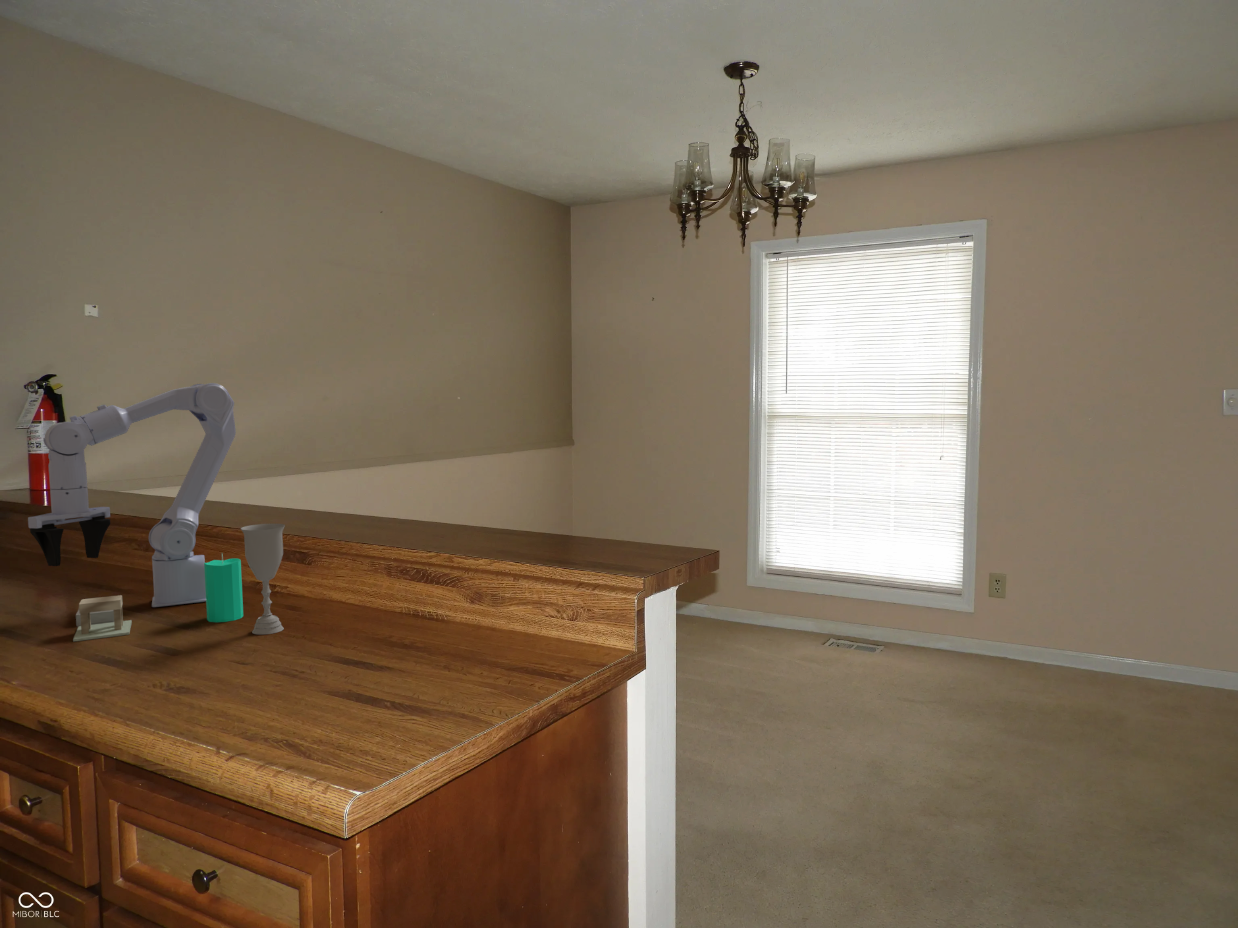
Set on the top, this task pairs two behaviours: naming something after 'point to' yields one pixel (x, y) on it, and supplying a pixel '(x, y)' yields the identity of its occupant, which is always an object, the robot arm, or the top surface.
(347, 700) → the top surface
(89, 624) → the beige toy stool
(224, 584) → the candle
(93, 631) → the mat
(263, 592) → the chalice
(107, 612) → the step
